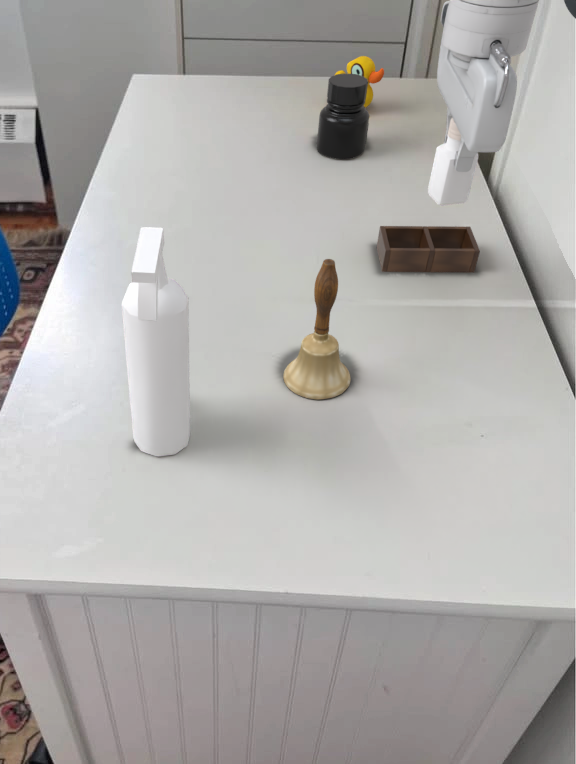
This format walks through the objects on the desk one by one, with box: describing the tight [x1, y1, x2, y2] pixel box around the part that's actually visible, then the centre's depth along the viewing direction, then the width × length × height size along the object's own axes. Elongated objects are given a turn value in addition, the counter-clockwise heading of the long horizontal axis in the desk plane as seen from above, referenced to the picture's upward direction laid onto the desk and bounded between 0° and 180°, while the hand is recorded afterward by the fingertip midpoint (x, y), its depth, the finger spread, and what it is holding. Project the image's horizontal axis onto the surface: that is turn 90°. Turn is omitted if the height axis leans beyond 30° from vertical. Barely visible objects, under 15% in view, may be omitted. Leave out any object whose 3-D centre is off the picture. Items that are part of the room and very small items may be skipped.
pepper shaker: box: [427, 118, 479, 207], centre depth 87 cm, size 4×4×10 cm
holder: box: [376, 225, 481, 274], centre depth 104 cm, size 13×7×5 cm, turn 88°
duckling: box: [334, 55, 385, 109], centre depth 142 cm, size 11×5×10 cm, turn 46°
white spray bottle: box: [121, 226, 191, 457], centre depth 74 cm, size 7×12×25 cm, turn 175°
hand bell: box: [282, 258, 351, 400], centre depth 83 cm, size 8×8×16 cm
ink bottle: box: [316, 73, 370, 160], centre depth 129 cm, size 10×9×12 cm
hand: (456, 158), depth 86 cm, fingers closed on pepper shaker, 4 cm apart
